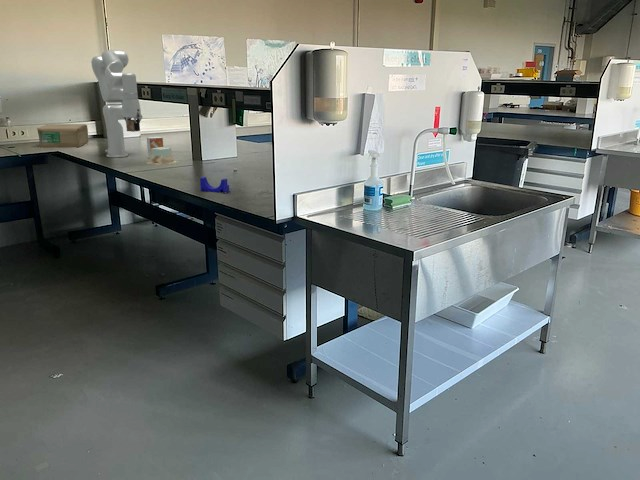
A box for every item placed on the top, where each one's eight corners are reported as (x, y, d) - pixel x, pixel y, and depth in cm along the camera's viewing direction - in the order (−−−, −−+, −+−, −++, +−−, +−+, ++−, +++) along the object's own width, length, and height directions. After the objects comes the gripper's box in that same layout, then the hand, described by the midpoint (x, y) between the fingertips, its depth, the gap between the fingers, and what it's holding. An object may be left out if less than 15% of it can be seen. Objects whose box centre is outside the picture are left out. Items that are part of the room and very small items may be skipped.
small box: (151, 160, 316) (149, 138, 312) (148, 158, 321) (146, 137, 317) (164, 159, 320) (162, 137, 316) (161, 157, 325) (159, 136, 321)
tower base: (150, 162, 304) (150, 155, 303) (161, 160, 312) (161, 153, 310) (162, 163, 300) (162, 156, 299) (173, 161, 308) (173, 154, 307)
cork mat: (144, 163, 303) (144, 162, 303) (161, 160, 315) (161, 159, 315) (163, 166, 297) (163, 164, 297) (179, 162, 309) (179, 161, 309)
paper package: (38, 148, 357) (35, 127, 353) (49, 143, 381) (47, 123, 377) (80, 147, 362) (78, 127, 358) (89, 142, 386) (87, 123, 382)
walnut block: (126, 131, 295) (125, 120, 293) (133, 130, 299) (132, 119, 297) (133, 131, 293) (132, 120, 291) (140, 130, 297) (139, 120, 295)
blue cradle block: (229, 191, 238) (228, 178, 237) (224, 193, 234) (224, 180, 232) (205, 189, 242) (205, 176, 240) (200, 191, 238) (200, 178, 236)
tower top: (151, 155, 303) (150, 148, 302) (161, 153, 310) (160, 147, 309) (162, 156, 300) (161, 149, 298) (171, 154, 306) (171, 148, 305)
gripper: (114, 96, 291) (117, 129, 296) (136, 97, 283) (139, 131, 289) (124, 95, 297) (127, 128, 303) (147, 96, 290) (149, 130, 295)
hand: (133, 129), depth 296 cm, fingers closed on walnut block, 5 cm apart
